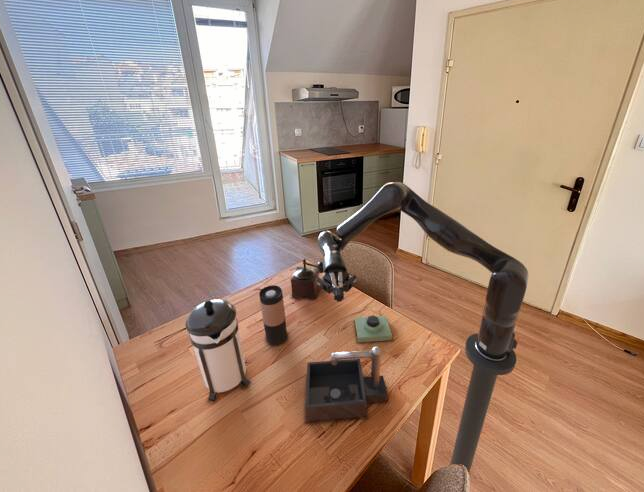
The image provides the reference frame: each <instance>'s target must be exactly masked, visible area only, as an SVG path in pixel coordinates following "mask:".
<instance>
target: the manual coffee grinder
mask: <svg viewBox="0 0 644 492" xmlns="http://www.w3.org/2000/svg"><path fill="white" fill-rule="evenodd" d="M302 264H303V266H297V267H296V268H295V270H294V272H293V274H292V276H291V277H290V285H291V293H292V294H291V295H292V296H291V297H292V298H294V299H295V298H296V299H301V300H316V298H317V296H318V293H319V291H320V288H319V287H317V281H316V279H317V278H320V274H324V271H323V260H320V261H318V262H317V264H314V263H310V262H307V259H306V258H303V259H302ZM307 266H309V267H307Z"/></svg>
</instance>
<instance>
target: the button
mask: <svg viewBox="0 0 644 492" xmlns="http://www.w3.org/2000/svg"><path fill="white" fill-rule="evenodd" d="M376 316H377V315H369V317H368V316H367V317H368V322H367V323H368V325H369V326H370V327H376V326H378V323H379V319H378V318H377V317H376Z"/></svg>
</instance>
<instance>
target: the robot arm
mask: <svg viewBox="0 0 644 492" xmlns="http://www.w3.org/2000/svg"><path fill="white" fill-rule="evenodd" d="M397 210H399V211H400V212H402V213H404V214H405V215H407V216H409V218H411V219H413V220H414V221H415V222H416V223H417V224H418V225H419V228H421V229H422V231H423V232H424V233H425V234H426V235H427V236H428V237H429V238H430V239H431V240H432V241H434V242H435V243H436V244H437V245H439V246H440V247H441V248H442V249H444V250H446V251H447V252H450V253H452V254H453V255H457V256H460V257H464V258H467V259H470V260H472V261H475V262H477V263H478V264H480V265H481V266H482V267H484V268H485V269H486V270H487V271H489V272H490V273H491V275H490V278H489V282H488V285H487V290H486V295H485V302H484V306H483V311H482V315H481V320H480V323H479V328H478V332H477V333H478V336H477V341H476V343H475V348H476V351H477V352H478V353H479V355H481V356H482V357H483V358H485V359H487V360H489V361H493V362H501V361H503V360H505V358H506V357H509V354H510V351H511V349H513V350H514V349H517V346H518V341H517V340H516V338H515V337H516V334H515V331H514V330H515V327H516V324H517V321H518V317H519V313H520V311H521V308H522V306H523V302H524V298H525V296H526V292H527V287H528V282H529V270H528V268H527V267H526V265H525V264H524V263H523V262H521V261H520V260H519V259H517V258H515V257H514V256H512V255H510V254H508V253H506V252H504V251H503V250H501V249H499V248H497V247H495V246H494V245H492V244H491V243H489V242H487V241H486V240H485V239H483V238H482V237H481V236H479V235H478V234H476V232H475V233H474V232H473V231H472V230H470V229H469V228H467V227H466V226H465V225H463V223H460V222H459V221H457V220H456V219H455V218H453V217H451V216H450V215H448V214H447V213H445V212H444V211H442V210H440V209H439V208H437V207H435V205H432V204H430V203H429V202H428V201H426V200H425V199H423V198H422V197H421V196H419V195H418V194H417V193H416V192H415V191H414V190H413V189H412V188H411V187H410V186H408V185H407V184H405V183H404V182H401V181H391V182H387V183H385V184H384V185H383V186H382V187H381V188H380V189H379V190H378V191H377V192H376V193H375V194H374V196H373V197H372V198H371V199H370V200H369V201H368V202H367V203H366V204H365V205H363V207H361V208H360V209H359V210H357V211H356V212H355V213H353V214H352V215H351V216H349V217H348V218H347V219H345V220H343V222H341V223H340V224H339V225H338V226H337V227H336V230H335V231H336V234H337V235H336V234H335V233H334V232H332V231H331V230H324V231H322V232H320V233H319V235H318V237H317V241H316V243H317V247H318V249H319V251H320V253H321V254H322V261H323V271H324V272H323V274H322V277H319V278H317V279H316V281H317V287H319V289H321V290H322V291H324V293H326V294H333V300H334V301H336V302H337V303H338V302H343V300H345V293H348V292H349V291H350V290H351V289H352V288H353V287H354V286H355V285H356V284H357V275H356V274H353V275H350V273H349V272H348V270H347V269H348V268H347V265H346V261H345V257H344V254H343V250H344V249H346V248H345V247H346V246H347V245H348V244H349V243H350V242H351V241H352V240H353V239H355V238H356V237H358V235H359V236H360V234H361V233H363V232H364V231H365V230H366V229H367V228H368V227H369V226H370V225H371V224H372V223H374V222H375V221H376V220H378V219H379V218H382V216H385V215H387V214H390V213H391V212H393V211H397Z"/></svg>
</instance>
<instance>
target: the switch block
mask: <svg viewBox="0 0 644 492" xmlns="http://www.w3.org/2000/svg"><path fill="white" fill-rule="evenodd" d="M369 316H370V315H369ZM369 316H361V317H355V318H354V325H355V330H356V335H357V336H356V338H357V342H358V343H369V342H383V341H385V342H386V341H392V340H393V334H392V331H391V327H390V323H389V321H388V318H387V315H375V316H376V317H377V318H378V319H379V323H378V326H376V327H370V326H369V325H368V323H367V322H368V317H369Z"/></svg>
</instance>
